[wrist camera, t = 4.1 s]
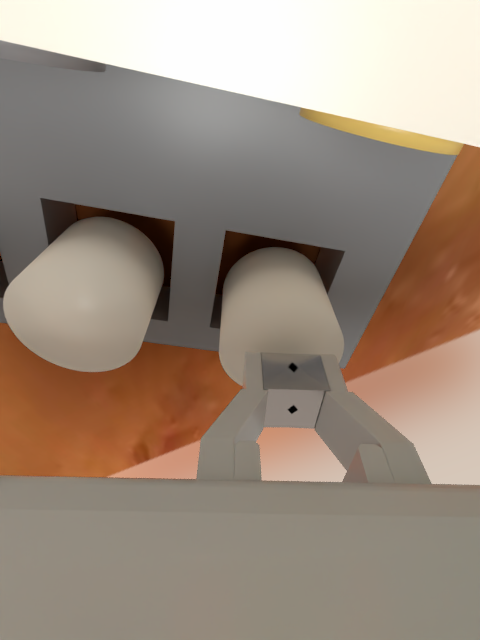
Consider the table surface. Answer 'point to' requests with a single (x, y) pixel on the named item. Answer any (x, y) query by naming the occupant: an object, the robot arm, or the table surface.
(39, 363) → the table surface
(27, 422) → the table surface
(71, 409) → the table surface
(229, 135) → the console
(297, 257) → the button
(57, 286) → the button middle
